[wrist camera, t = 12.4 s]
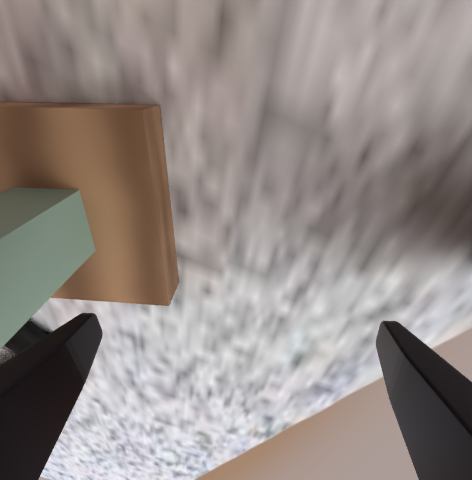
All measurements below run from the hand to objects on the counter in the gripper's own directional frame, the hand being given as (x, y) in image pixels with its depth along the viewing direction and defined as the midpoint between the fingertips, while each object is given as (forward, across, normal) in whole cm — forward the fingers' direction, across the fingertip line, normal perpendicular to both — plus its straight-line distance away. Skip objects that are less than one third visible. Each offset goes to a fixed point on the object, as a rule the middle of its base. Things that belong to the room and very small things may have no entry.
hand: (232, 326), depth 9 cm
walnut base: (+13, +13, +1) cm, 18 cm away
